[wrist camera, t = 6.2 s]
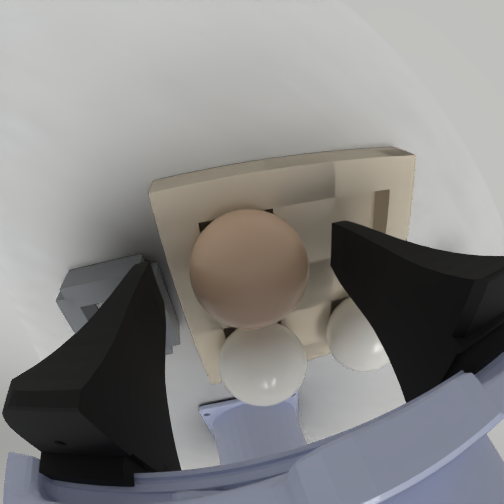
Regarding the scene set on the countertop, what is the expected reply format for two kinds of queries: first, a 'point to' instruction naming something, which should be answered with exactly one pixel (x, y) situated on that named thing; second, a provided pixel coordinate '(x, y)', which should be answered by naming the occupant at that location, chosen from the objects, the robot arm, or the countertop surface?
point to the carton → (295, 214)
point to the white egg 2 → (354, 339)
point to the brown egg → (249, 269)
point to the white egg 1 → (262, 364)
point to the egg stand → (108, 294)
